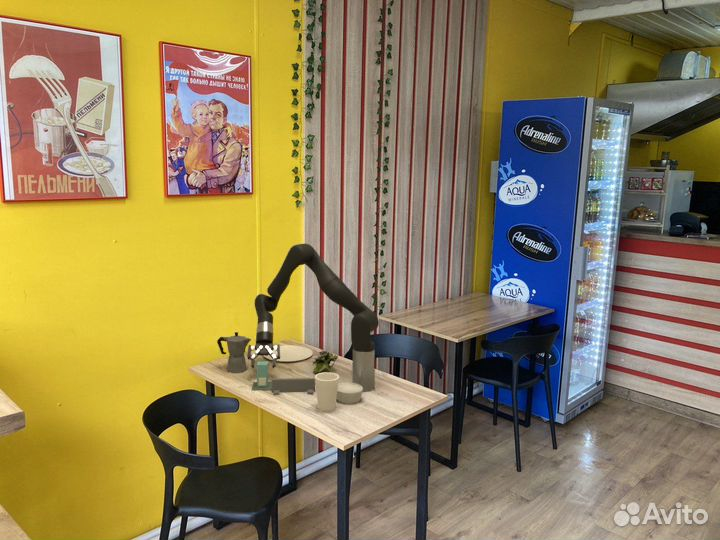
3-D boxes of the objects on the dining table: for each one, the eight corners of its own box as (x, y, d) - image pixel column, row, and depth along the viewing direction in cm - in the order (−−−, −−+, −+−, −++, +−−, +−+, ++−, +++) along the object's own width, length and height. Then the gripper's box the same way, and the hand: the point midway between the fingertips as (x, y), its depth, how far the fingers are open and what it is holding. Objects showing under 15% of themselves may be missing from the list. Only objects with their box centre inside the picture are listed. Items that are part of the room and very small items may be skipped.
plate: (294, 345, 298) (295, 342, 298) (322, 357, 279) (322, 354, 279) (253, 353, 282) (253, 350, 282) (279, 367, 263) (279, 364, 263)
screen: (315, 390, 237) (315, 377, 236) (315, 394, 232) (315, 381, 231) (272, 391, 235) (272, 378, 234) (271, 395, 230) (271, 382, 229)
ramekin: (367, 398, 230) (368, 386, 229) (352, 407, 220) (352, 395, 219) (345, 392, 236) (345, 380, 235) (329, 400, 227) (329, 388, 226)
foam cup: (309, 407, 219) (310, 376, 217) (327, 401, 226) (327, 370, 223) (325, 415, 213) (326, 382, 210) (343, 408, 219) (344, 377, 217)
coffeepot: (252, 366, 263) (252, 329, 260) (249, 373, 254) (249, 335, 251) (220, 366, 263) (219, 329, 260) (215, 373, 254) (214, 334, 250)
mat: (274, 382, 244) (274, 381, 244) (273, 390, 236) (273, 389, 235) (253, 382, 243) (253, 381, 243) (251, 390, 235) (251, 389, 234)
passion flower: (322, 379, 264) (332, 356, 268) (335, 382, 255) (346, 358, 259) (304, 369, 258) (315, 346, 262) (317, 372, 250) (328, 347, 253)
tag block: (268, 383, 242) (268, 361, 240) (267, 387, 237) (267, 365, 235) (257, 383, 241) (257, 361, 240) (256, 387, 237) (256, 365, 235)
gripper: (248, 330, 248) (246, 364, 239) (280, 330, 249) (279, 363, 240) (249, 338, 254) (247, 371, 245) (280, 338, 256) (280, 371, 246)
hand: (263, 367), depth 242 cm, fingers open, 8 cm apart
